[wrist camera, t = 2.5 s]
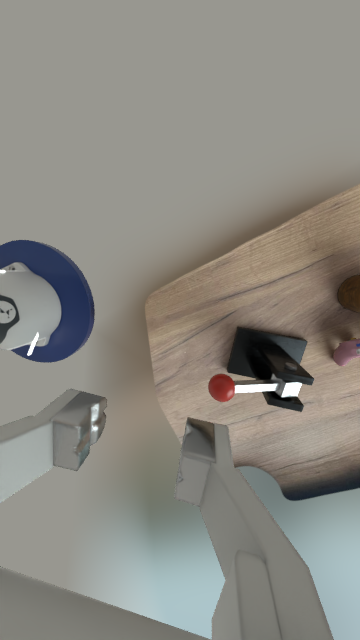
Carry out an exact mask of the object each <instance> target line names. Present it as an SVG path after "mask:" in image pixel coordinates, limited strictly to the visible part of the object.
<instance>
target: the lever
mask: <svg viewBox="0 0 360 640" xmlns="http://www.w3.org/2000/svg"><path fill="white" fill-rule="evenodd" d="M301 384H302V383H298V382H293V381H288V380H283V379H278V378H276V377H275V375H274V374H272V377H271V380H244V381H233V380H232V379H231V378H230V377H229V376H227V375H225V374H217V375H215V376H213V377H212V378H211V379H210V381H209V385H208V388H209V392H210V394H211V396H212V397H213V398H214V399H215V400H217V401H220V402H226V401H228V400H230V399H231V398H232V397H233V396H234V394H235V393H244V392H260V391H275V392H276V393H277V394H278V395H279V396H281V397H292V396H297V395H298V392H299V389H300V387H301Z"/></svg>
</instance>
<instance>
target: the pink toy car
mask: <svg viewBox="0 0 360 640" xmlns="http://www.w3.org/2000/svg"><path fill="white" fill-rule="evenodd" d="M339 344H340V345H339V346H338V347H337V349H336V350H335V352H334V361H335V362H336V363H337V364H338V365H339V366H344V365H346V364H347V363H348V362H349V361H350V360H351V359H353V358H357V357H360V339H356V338H351V339H350V340H347V341H346V342H343V343H339Z"/></svg>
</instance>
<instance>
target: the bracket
mask: <svg viewBox="0 0 360 640" xmlns="http://www.w3.org/2000/svg"><path fill="white" fill-rule="evenodd" d="M306 345H307V341H306V340H305V339H301V338H295V337H290V336H285V335H280V334H274V333H269V332H264V331H258V330H253V329H248V328H242V327H237V331H236V335H235V339H234V343H233V347H232V351H231V355H230V359H229V363H228V367H227V372H228V373H233V374H238V375H242V376H247V377H252V378H256V380H271V377H272V374H274V375H275V377H276V378H278V379H283V380H288V381H293V382H298V383H302V384H307V385H312V383H313V381H314V378H313V377H312V376H311V375H310V374H309V373H308V372H307V371H306V370H305V369H304V368H302V367H301V366H300V365H299V364H300V362H301V359H302V356H303V353H304V350H305V347H306ZM262 393H263V395H264V397H265V399H266V401H267V404H268V405H273V406H277V407H282V408H286V409H291V410H295V411H300V412H302V410H303V407H304V405H303V404H302V403H301V401H300V400H299V399H298V397H297V396H292V397H281V396H279V395H278V394H277V393H276V392H275V391H262Z"/></svg>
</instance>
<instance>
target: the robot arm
mask: <svg viewBox="0 0 360 640" xmlns="http://www.w3.org/2000/svg"><path fill="white" fill-rule="evenodd" d="M60 320H61V304H60V300H59V297H58V295H57V293H56V291H55V290H54V288H53V287H52V286H51V285H50V284H49V283H48V282H47V281H46V280H45V279H43V278H42V277H40V276H38V275H36V274H34V273H33V272H31V271H30V269H29V268H28V267H27V266H26V265H25V264H23V263H21V262H15V263H13V264H11V265H8V266H6V267H4V268H2V269H0V349H1V350H12V349H15V348H18V347H21V346H24V345H31V347H30V349H29V352H28V354H27V355H31V353H32V351H33V348H34V346H45V345H47V344H48V342H49V339H50V335H51V334H52V333H53V331H54V330H55V329H56V328H57V327H58V325H59V323H60ZM106 407H107V399H106V398H105V397H101V396H97V395H94V394H90V393H86V392H82V391H78V390H74V389H69V390H66V391H65V392H64V393H63V394H62V395H60V396H59V397H58V398H57V399H55V400H54V401H53V402H52V403H50V405H48V406H47V407H46V408H44V409H43V410H42V411H41V412H39V413H38V414H37V415H36V416H35V417H34V416H28V417H25V418H22V419H20V420H17V421H14V422H11V423H8V424H5V425H3V426H0V503H1V502H3V501H4V500H6V499H7V498H8V497H10V496H11V495H13V494H14V493H16V492H17V491H19V490H20V489H22V488H23V487H25V486H26V485H28V484H29V483H30V482H32V481H33V480H35V479H37V478H38V477H39V476H41V475H42V474H44V473H45V472H47V471H48V470H50V469H51V468H52V467H53V466H58V467H62V468H66V469H70V470H74V471H78V469H79V468H80V466H81V465H82V463H83V462H84V460H85V459H86V457H87V456H88V454H89V449H90V446H91V445H93V444H94V443H96V442H97V441H98V439H99V437H100V436H101V434H102V431H103V429H104V426H105V422H106V415H105V413H104V410H105V408H106ZM174 499H177V500H180V501H183V502H187V503H190V504H193V505H196V506H199V507H200V511H201V514H202V517H203V519H204V522H205V525H206V527H207V530H208V533H209V535H210V538H211V541H212V544H213V547H214V549H215V552H216V555H217V557H218V560H219V563H220V566H221V569H222V571H223V574H224V577H225V580H226V581H225V584H224V586H223V589H222V592H221V595H220V598H219V600H218V603H217V606H216V609H215V612H214V615H213V617H212V640H334V639H333V636H332V634H331V630H330V628H329V625H328V622H327V619H326V616H325V613H324V611H323V607H322V605H321V602H320V599H319V596H318V593H317V590H316V587H315V584H314V582H313V579H312V576H311V573H310V570H309V568H308V566H307V565H306V564H305V562H304V561H303V559H302V558H301V556H300V555H299V554H298V552H297V551H296V549H295V548H294V546H293V545H292V544H291V542H290V541H289V540H288V538H287V537H286V535H285V534H284V532H283V531H282V530H281V528H280V527H279V525H278V524H277V523H276V521H275V520H274V518H273V517H272V516H271V514H270V513H269V511H268V510H267V509H266V507H265V506H264V504H263V503H262V502H261V500H260V499H259V497H258V496H257V495H256V493H255V492H254V490H253V489H252V487H251V486H250V485H249V483H248V482H247V480H246V479H245V478H244V476H243V475H242V473H241V472H240V471H239V469H235V468H234V464H233V457H232V450H231V444H230V437H229V430H228V427H227V426H226V425H222V424H217V423H211V422H207V421H202V420H198V419H194V418H189V417H188V418H187V422H186V428H185V434H184V437H183V443H182V448H181V454H180V461H179V469H178V474H177V481H176V488H175V495H174ZM0 640H210V639H208V638H205V637H202V636H199V635H196V634H193V633H190V632H188V631H184V630H182V629H179V628H176V627H173V626H170V625H168V624H164V623H161V622H158V621H156V620H153V619H150V618H147V617H145V616H141V615H139V614H136V613H133V612H130V611H127V610H124V609H121V608H119V607H116V606H113V605H110V604H107V603H104V602H101V601H98V600H96V599H93V598H90V597H87V596H84V595H81V594H78V593H75V592H73V591H70V590H67V589H64V588H61V587H58V586H55V585H52V584H49V583H46V582H44V581H41V580H38V579H35V578H32V577H29V576H26V575H24V574H21V573H18V572H15V571H12V570H9V569H6V568H3V567H1V566H0Z"/></svg>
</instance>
